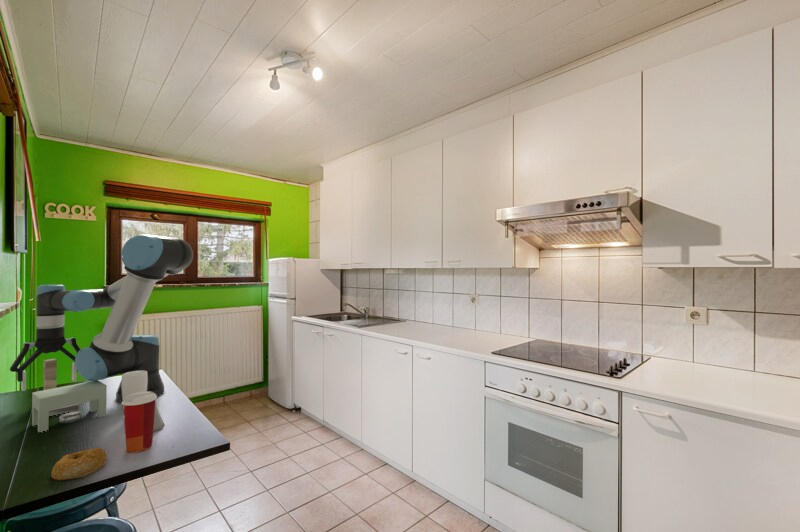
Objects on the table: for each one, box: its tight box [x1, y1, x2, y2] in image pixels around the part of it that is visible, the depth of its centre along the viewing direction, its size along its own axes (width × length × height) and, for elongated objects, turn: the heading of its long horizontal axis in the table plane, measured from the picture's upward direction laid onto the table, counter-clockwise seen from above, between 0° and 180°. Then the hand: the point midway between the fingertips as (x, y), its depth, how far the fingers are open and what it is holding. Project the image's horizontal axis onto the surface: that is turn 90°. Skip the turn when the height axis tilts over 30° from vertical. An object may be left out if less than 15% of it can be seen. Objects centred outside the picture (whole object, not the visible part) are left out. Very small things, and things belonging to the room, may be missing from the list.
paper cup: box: [120, 391, 158, 454], centre depth 98 cm, size 8×8×14 cm
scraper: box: [42, 358, 79, 417], centre depth 128 cm, size 20×8×16 cm, turn 54°
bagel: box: [50, 447, 108, 481], centre depth 87 cm, size 10×11×5 cm
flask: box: [153, 394, 165, 433], centre depth 110 cm, size 7×7×10 cm
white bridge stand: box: [31, 380, 108, 433], centre depth 117 cm, size 10×16×10 cm, turn 144°
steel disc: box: [59, 411, 82, 424], centre depth 117 cm, size 5×5×2 cm
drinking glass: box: [120, 370, 148, 410], centre depth 117 cm, size 7×7×15 cm
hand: (49, 385), depth 133 cm, fingers open, 13 cm apart
